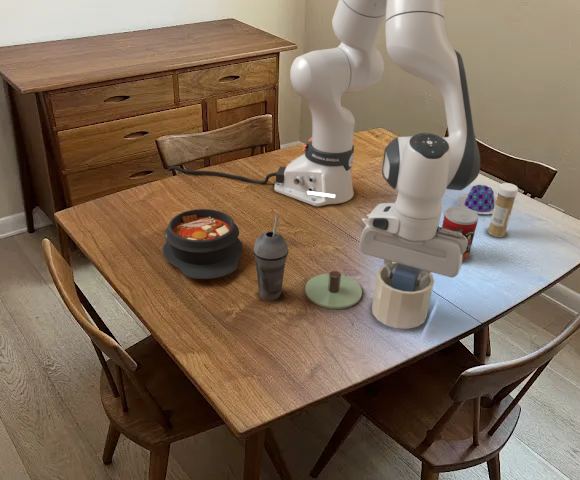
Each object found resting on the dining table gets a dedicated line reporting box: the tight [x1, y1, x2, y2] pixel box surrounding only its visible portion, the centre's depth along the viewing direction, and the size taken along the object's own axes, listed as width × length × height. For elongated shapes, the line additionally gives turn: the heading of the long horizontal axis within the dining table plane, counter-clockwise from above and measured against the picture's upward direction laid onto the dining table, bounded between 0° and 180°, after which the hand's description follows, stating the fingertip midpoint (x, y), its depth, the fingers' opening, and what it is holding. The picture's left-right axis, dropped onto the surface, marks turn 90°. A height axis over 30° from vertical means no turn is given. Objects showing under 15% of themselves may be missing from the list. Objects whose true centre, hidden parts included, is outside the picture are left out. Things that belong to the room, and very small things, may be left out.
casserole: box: [162, 208, 244, 280], centre depth 140 cm, size 25×19×8 cm
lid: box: [304, 270, 363, 310], centre depth 131 cm, size 12×12×5 cm
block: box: [391, 264, 420, 292], centre depth 123 cm, size 4×4×4 cm
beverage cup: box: [252, 213, 289, 301], centre depth 125 cm, size 7×7×20 cm
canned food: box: [441, 205, 479, 262], centre depth 145 cm, size 8×8×11 cm
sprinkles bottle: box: [487, 182, 519, 238], centre depth 153 cm, size 5×5×14 cm
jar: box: [371, 262, 435, 330], centre depth 126 cm, size 11×11×10 cm
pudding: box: [457, 184, 497, 215], centre depth 167 cm, size 12×12×5 cm
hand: (405, 280), depth 123 cm, fingers closed on block, 4 cm apart
